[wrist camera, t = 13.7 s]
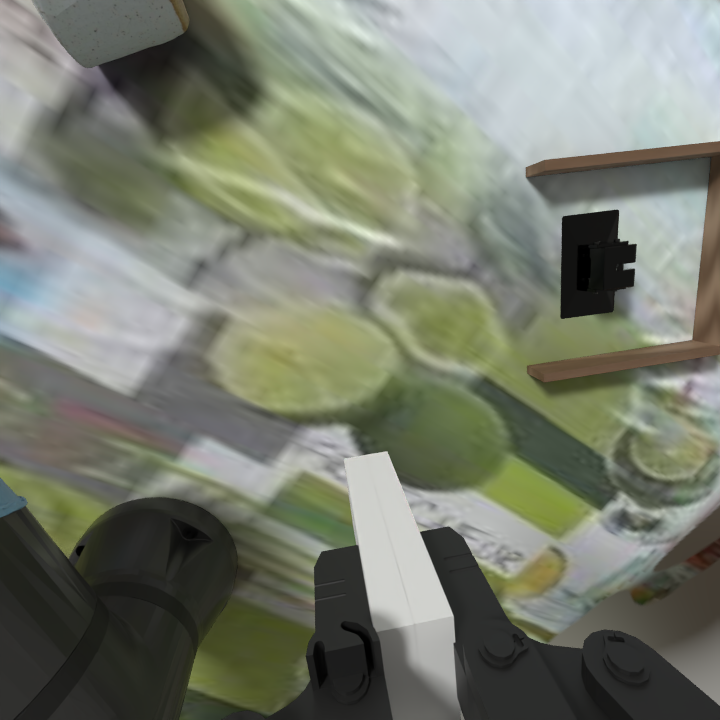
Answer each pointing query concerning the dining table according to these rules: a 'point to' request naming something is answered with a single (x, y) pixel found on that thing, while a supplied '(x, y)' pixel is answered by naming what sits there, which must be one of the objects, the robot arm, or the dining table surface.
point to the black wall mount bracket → (593, 263)
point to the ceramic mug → (112, 26)
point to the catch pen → (716, 278)
